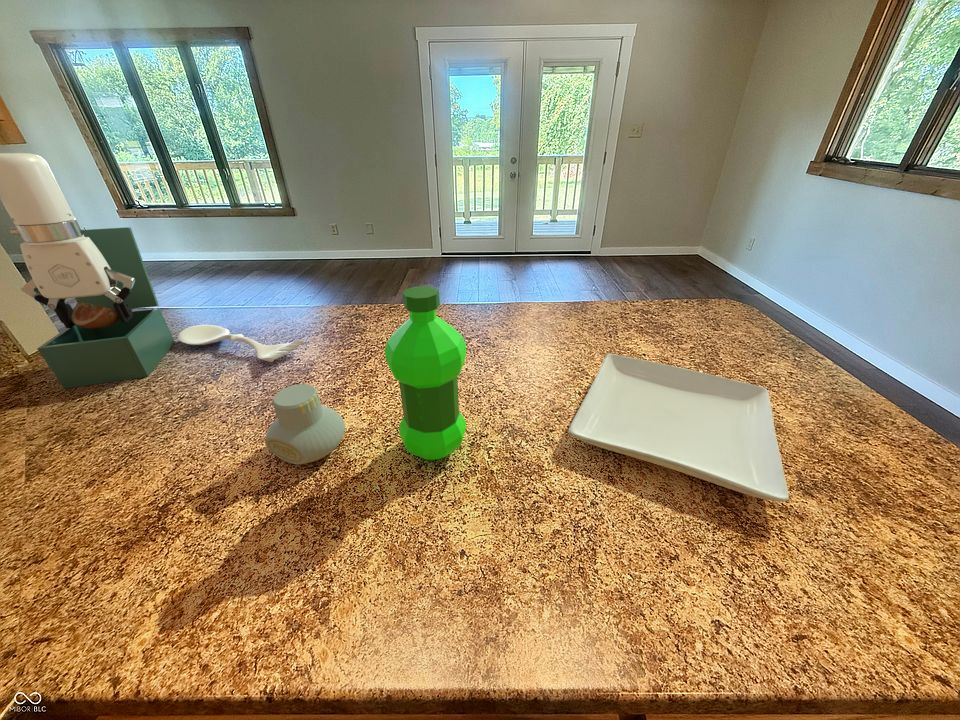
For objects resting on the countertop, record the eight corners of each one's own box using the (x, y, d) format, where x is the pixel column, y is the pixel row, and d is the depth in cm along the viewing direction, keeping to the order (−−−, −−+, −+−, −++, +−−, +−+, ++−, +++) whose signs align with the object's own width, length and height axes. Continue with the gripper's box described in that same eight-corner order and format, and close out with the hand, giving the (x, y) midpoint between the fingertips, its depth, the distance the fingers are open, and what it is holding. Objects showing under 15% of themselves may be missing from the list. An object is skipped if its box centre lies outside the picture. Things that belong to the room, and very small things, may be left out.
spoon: (275, 372, 77) (270, 357, 75) (172, 345, 88) (165, 331, 86) (308, 352, 84) (304, 338, 83) (209, 329, 95) (204, 316, 93)
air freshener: (357, 439, 60) (345, 387, 55) (320, 477, 53) (302, 421, 48) (303, 423, 63) (288, 372, 58) (262, 456, 57) (240, 402, 52)
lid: (128, 227, 78) (130, 227, 79) (45, 232, 74) (48, 231, 75) (157, 306, 84) (159, 305, 85) (81, 314, 80) (84, 313, 81)
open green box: (148, 376, 76) (127, 337, 72) (64, 389, 72) (36, 348, 68) (175, 342, 89) (159, 307, 84) (104, 351, 85) (84, 315, 81)
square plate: (604, 366, 78) (607, 350, 76) (761, 404, 67) (769, 385, 65) (564, 448, 58) (566, 428, 56) (780, 521, 47) (793, 500, 45)
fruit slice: (135, 324, 78) (124, 301, 75) (98, 337, 72) (84, 313, 70) (107, 318, 80) (96, 296, 78) (69, 331, 75) (55, 307, 72)
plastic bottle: (424, 419, 64) (410, 274, 51) (480, 438, 60) (479, 286, 47) (386, 457, 56) (358, 298, 44) (446, 482, 52) (434, 314, 40)
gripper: (-30, 240, 62) (33, 336, 70) (101, 233, 66) (145, 324, 75) (4, 231, 68) (57, 320, 76) (121, 225, 72) (159, 310, 81)
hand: (100, 322), depth 76 cm, fingers closed on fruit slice, 8 cm apart
